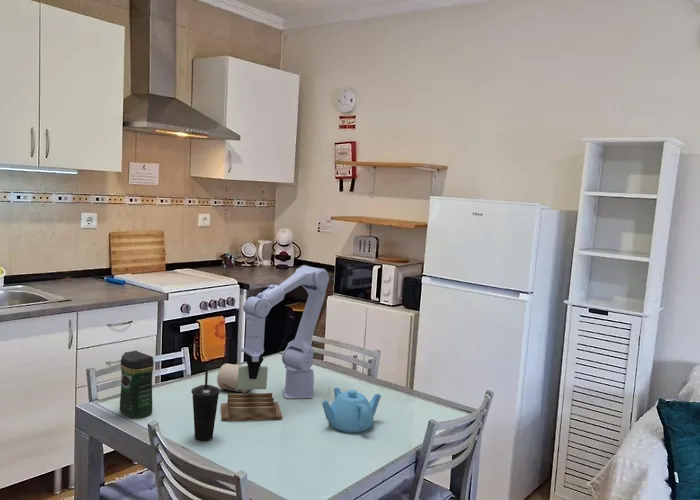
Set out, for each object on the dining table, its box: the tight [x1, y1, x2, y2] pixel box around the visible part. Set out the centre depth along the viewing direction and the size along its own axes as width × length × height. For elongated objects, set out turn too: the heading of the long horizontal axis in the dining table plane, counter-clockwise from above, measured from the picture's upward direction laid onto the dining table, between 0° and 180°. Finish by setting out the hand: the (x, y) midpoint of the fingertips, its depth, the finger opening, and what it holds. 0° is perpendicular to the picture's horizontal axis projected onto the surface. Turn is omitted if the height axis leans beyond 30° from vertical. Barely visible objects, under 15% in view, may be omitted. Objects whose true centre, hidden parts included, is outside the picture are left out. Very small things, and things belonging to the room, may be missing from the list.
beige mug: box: [216, 363, 250, 394], centre depth 204 cm, size 12×9×12 cm
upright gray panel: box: [237, 365, 269, 390], centre depth 188 cm, size 9×2×7 cm, turn 102°
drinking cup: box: [190, 366, 221, 442], centre depth 165 cm, size 8×8×20 cm
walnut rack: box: [220, 392, 283, 422], centre depth 185 cm, size 18×12×4 cm
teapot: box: [321, 387, 382, 434], centre depth 181 cm, size 15×15×11 cm
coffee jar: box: [119, 350, 155, 419], centre depth 178 cm, size 10×8×19 cm
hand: (252, 377), depth 188 cm, fingers closed on upright gray panel, 2 cm apart
